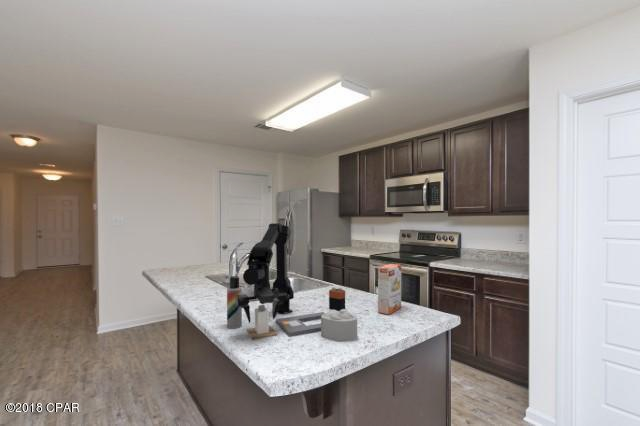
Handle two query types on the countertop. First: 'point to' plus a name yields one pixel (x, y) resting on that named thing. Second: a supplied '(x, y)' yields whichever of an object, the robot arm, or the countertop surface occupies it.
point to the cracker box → (389, 288)
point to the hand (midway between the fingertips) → (261, 320)
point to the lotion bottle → (233, 304)
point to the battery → (336, 299)
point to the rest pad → (256, 335)
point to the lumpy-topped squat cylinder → (339, 325)
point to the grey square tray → (299, 324)
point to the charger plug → (261, 320)
